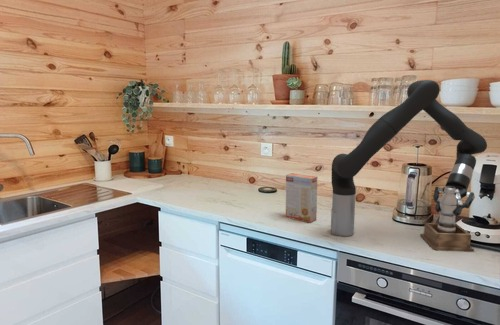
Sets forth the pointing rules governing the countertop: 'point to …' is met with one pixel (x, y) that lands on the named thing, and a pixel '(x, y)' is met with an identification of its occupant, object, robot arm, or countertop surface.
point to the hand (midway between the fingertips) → (446, 213)
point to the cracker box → (301, 197)
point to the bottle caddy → (447, 239)
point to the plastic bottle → (447, 211)
